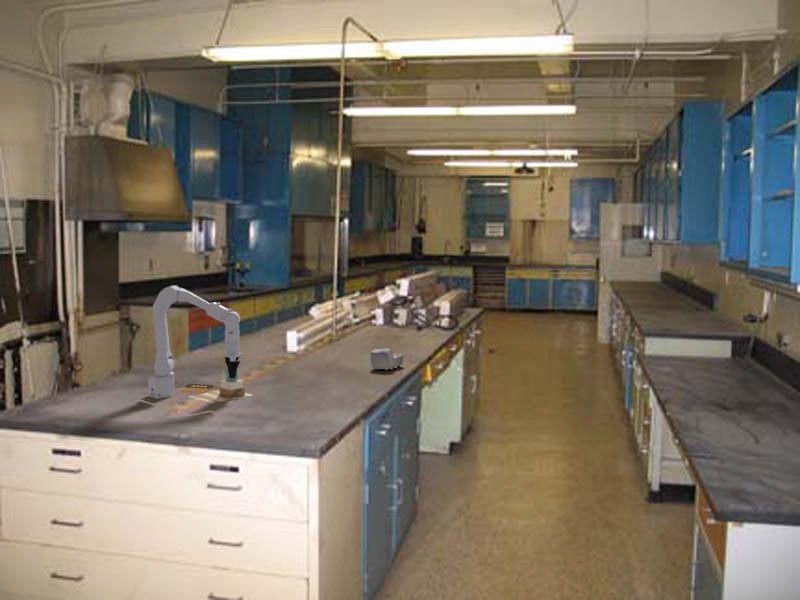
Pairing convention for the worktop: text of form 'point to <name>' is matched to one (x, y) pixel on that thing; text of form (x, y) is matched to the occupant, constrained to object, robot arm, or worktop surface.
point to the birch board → (214, 397)
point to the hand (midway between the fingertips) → (232, 376)
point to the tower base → (232, 392)
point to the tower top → (231, 385)
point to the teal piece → (231, 378)
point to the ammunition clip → (196, 388)
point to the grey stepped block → (385, 359)
